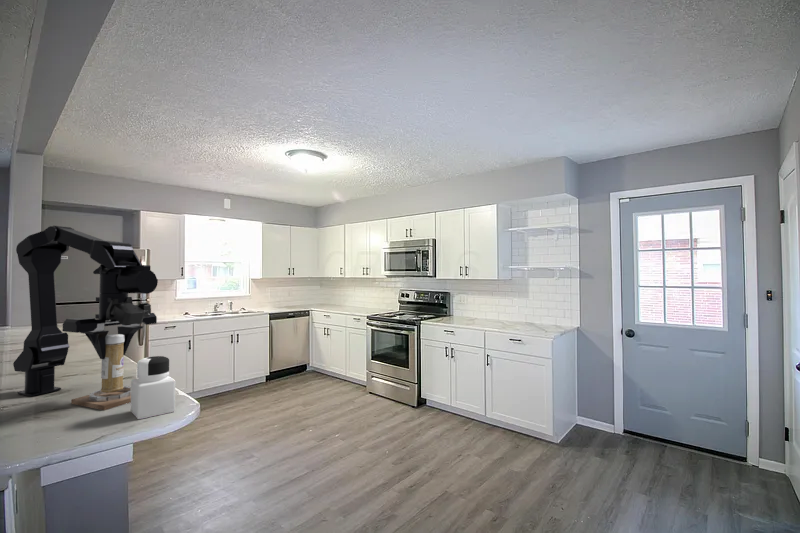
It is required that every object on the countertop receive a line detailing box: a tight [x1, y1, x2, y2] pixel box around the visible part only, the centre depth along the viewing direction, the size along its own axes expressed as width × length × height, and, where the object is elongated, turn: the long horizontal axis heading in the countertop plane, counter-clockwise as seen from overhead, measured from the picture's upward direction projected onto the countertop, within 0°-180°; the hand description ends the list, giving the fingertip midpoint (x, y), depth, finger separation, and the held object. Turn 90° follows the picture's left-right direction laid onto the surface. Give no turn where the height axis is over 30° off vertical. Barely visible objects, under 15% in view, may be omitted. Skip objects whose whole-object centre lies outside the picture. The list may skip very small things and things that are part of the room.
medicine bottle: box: [130, 355, 176, 420], centre depth 88 cm, size 7×7×12 cm
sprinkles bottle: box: [100, 333, 125, 393], centre depth 96 cm, size 5×5×14 cm
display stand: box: [70, 385, 131, 411], centre depth 96 cm, size 12×11×2 cm
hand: (112, 357), depth 96 cm, fingers closed on sprinkles bottle, 4 cm apart
